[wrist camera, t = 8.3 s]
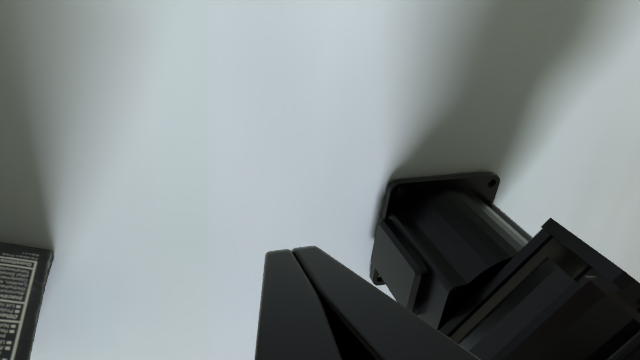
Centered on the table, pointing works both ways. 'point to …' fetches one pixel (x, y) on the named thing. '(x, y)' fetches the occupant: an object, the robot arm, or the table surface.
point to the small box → (21, 297)
